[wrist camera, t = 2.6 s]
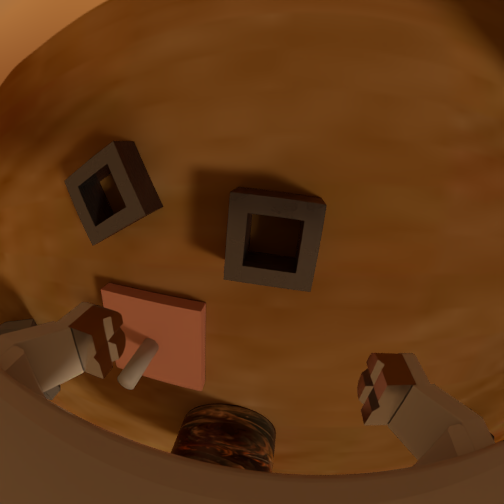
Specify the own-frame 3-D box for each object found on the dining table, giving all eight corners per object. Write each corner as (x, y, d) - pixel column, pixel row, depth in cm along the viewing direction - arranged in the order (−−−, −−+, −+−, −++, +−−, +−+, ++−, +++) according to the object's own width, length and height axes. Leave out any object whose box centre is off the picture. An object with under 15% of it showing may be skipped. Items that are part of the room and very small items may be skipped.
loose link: (86, 176, 21) (64, 181, 18) (133, 141, 20) (113, 141, 17) (112, 235, 23) (92, 245, 20) (163, 206, 21) (145, 214, 18)
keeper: (109, 282, 24) (65, 319, 18) (205, 302, 24) (178, 353, 17) (122, 359, 28) (93, 399, 21) (205, 381, 27) (186, 432, 21)
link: (238, 186, 20) (230, 192, 17) (321, 197, 19) (326, 204, 17) (231, 263, 22) (223, 279, 19) (308, 274, 22) (310, 291, 19)
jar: (262, 457, 32) (248, 545, 18) (183, 438, 32) (151, 522, 18) (287, 415, 28) (277, 533, 14) (187, 391, 28) (140, 502, 14)
